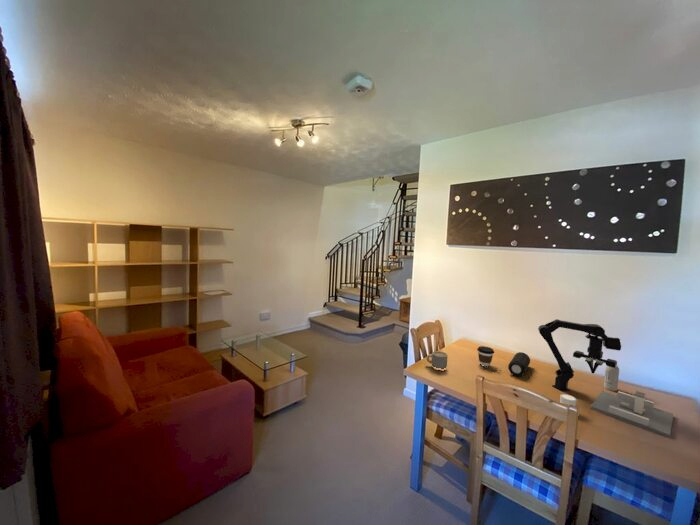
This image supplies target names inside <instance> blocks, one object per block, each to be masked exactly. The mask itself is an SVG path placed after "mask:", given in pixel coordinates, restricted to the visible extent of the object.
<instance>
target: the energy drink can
mask: <svg viewBox="0 0 700 525" xmlns="http://www.w3.org/2000/svg"><path fill="white" fill-rule="evenodd" d="M619 375H620V368H619V365H617V366H616V367H615V368H613V367H609V366H607V365H606V364H605V371H604V381H603V387H604V388H605V389H606V390H608V391H612V392H616V391H617V390H618V386H619Z"/></svg>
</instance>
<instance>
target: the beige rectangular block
mask: <svg viewBox="0 0 700 525" xmlns="http://www.w3.org/2000/svg"><path fill="white" fill-rule="evenodd" d="M634 394H635V395H634V396H635V404H634V412H636V413H639V414H642V413H643V409H644V400H646V399H645V398H646V393H644V392H641V391H638V390H636V392H635V393H634Z"/></svg>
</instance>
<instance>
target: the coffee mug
mask: <svg viewBox="0 0 700 525" xmlns="http://www.w3.org/2000/svg"><path fill="white" fill-rule="evenodd" d="M430 359H431V360H430ZM426 360H427V363H429V364H430V365H431V364H432V365H431V367H432V366H433V367H436V368H441V369H444V368H446V367H447V368H448V354H447V353H446V352H444V351H440V350H439V351H438V350H434V351H432V352H431V353H429V354H428V355H427V356H426Z"/></svg>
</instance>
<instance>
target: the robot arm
mask: <svg viewBox="0 0 700 525" xmlns="http://www.w3.org/2000/svg"><path fill="white" fill-rule="evenodd" d="M560 328H562V329H569V330H573V331H580V332H584V333H586V334H585V336H584V337H585V338H586V339H589V340H588V341H589V342H588V343H589V344H588V347H587V351H586V352H587V353H588V354H585V352H584V351H579V350H575V351H573V354H572V357H573V358H575V359H581V358H584V359H585V360H584V361H585V362H586V363H587V365H588V367H589V368H590V372H591V374H595V372H596V371H597V369H598V368H599V366H602V365H603V364H605V366H606V365H607V366H609V367H613V368H615V367H616V366H618V361H617V360H615V359H612V358H607V359H604V358H603V355H604V352H603V347H604V348H605V349H607V350H613V351H619V352H620V351H621V349H622V344H621V339H620V338H619V337H613V336H611V337H610V336H608V335H607V334H606V330H605V329H604V327H602V326H601V325H599V324H596V323H587V324H586V323H577V322H572V321H567V320H562V319H561V320H560V319H554V320H552V321H549V322H546V324H541V325H539V326H538V329H537V330H538V332H539V334H540V336H541V337H542V338H543V339H544V341H545V342H546V343H547V345H548V347H549V349H550V351H551V352H552V354H553V356H554V358H555V360H556V363H557V365H558V369H557V370H555V372H554V373H555V375H556V376H555V380H554V381H555V382H554V384H553V385H552V387H553V388H555V389H557V390H559V391H561V392H567V391H571V389H570V388H568V387H569V381H570V379H573V378H574V376H575V375H574V373H575V371H574V370H573V368H572V366H571V363H570V362H569V361H568V362H566V361H565V359H564V358H563V356H562V354H561V352H560V351H559V349H558V346H557V345H556V342H555V341H554V338H553V335H552V333H553V332H555V331H557V330H558V329H560ZM594 361H595V362H594Z"/></svg>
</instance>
